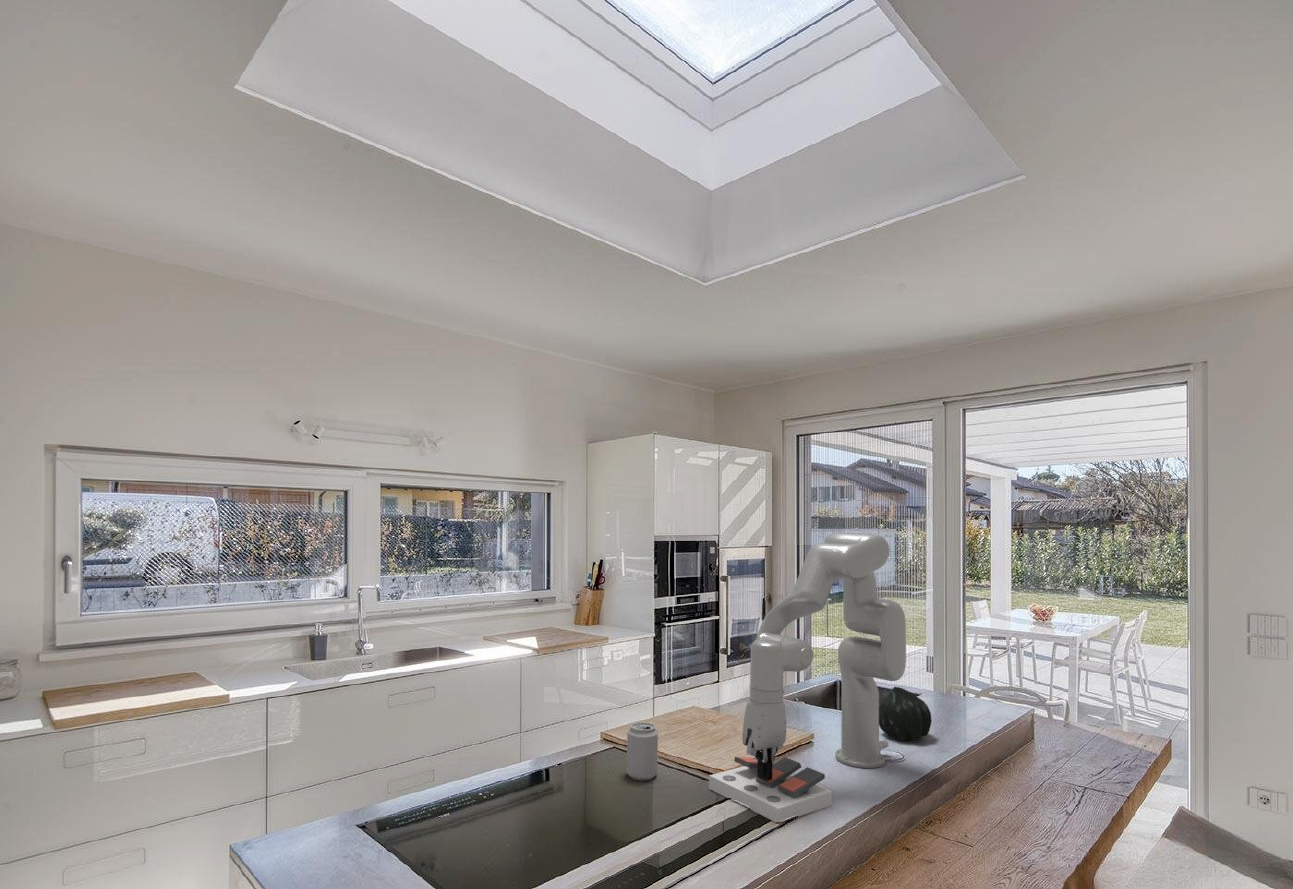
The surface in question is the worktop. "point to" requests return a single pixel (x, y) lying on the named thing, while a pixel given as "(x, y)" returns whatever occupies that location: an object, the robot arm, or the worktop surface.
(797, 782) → the rocker
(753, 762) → the rocker
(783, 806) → the rocker switch panel
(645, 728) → the can
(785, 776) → the rocker middle
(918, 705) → the squash
